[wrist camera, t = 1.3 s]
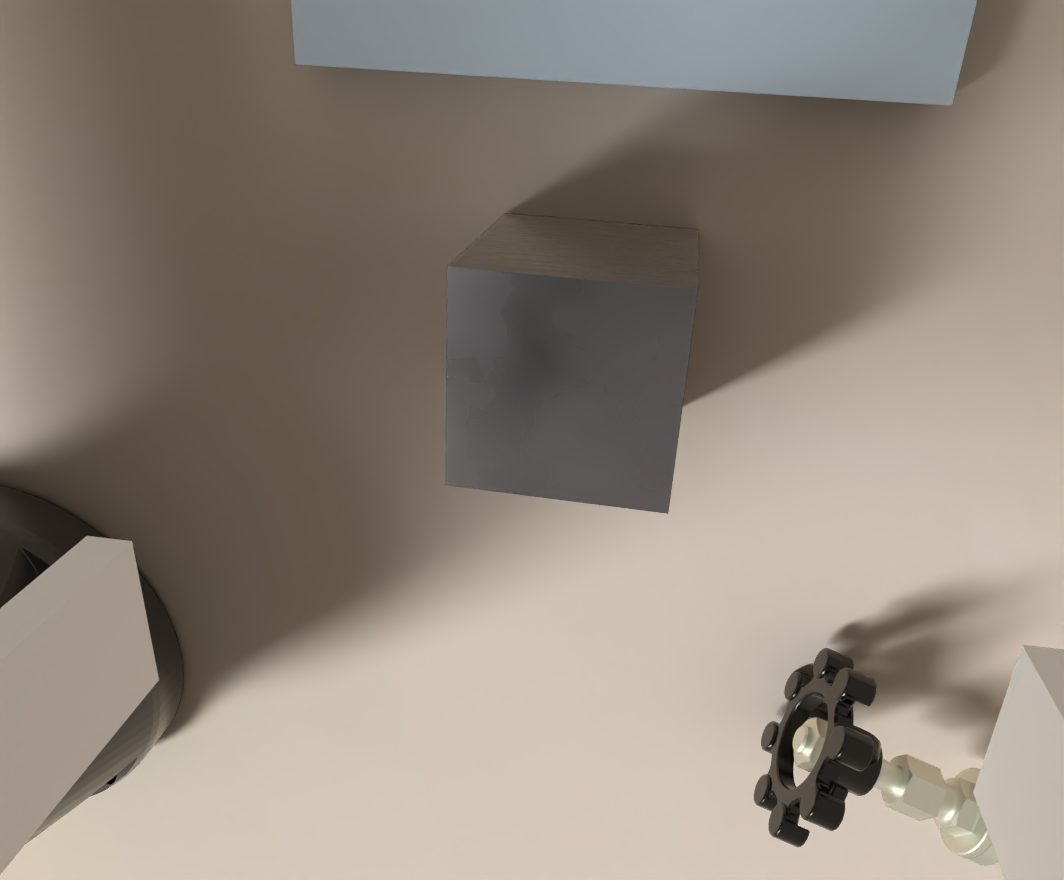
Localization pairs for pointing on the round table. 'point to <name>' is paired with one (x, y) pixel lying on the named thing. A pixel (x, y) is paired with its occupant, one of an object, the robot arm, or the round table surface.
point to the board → (656, 43)
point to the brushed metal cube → (569, 359)
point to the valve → (856, 766)
